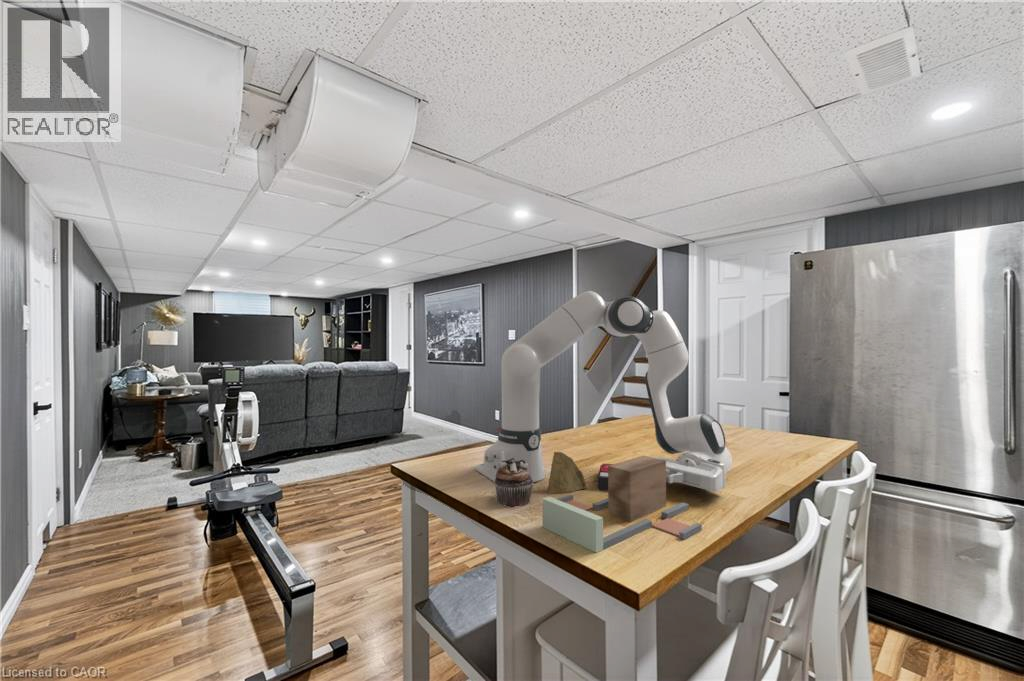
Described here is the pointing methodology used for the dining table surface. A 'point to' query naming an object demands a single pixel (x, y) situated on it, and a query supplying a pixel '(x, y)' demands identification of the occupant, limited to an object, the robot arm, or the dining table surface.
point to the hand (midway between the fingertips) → (664, 478)
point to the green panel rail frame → (588, 527)
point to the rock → (565, 475)
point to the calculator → (603, 477)
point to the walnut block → (636, 487)
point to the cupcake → (513, 483)
